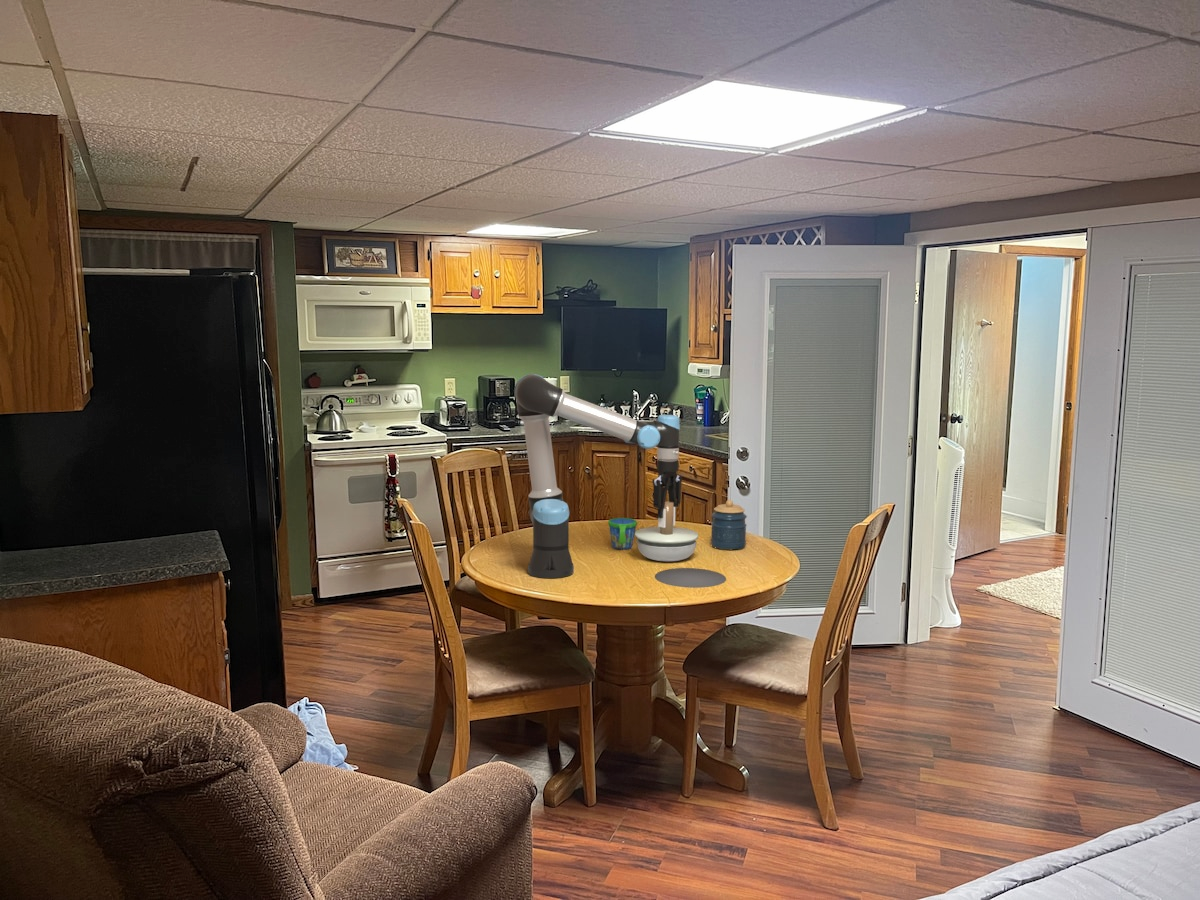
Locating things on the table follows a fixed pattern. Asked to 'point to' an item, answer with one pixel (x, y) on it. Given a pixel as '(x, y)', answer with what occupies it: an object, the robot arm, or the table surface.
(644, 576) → the table surface
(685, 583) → the mat
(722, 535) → the canister
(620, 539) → the snack cup
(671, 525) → the lid
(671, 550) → the serving bowl
